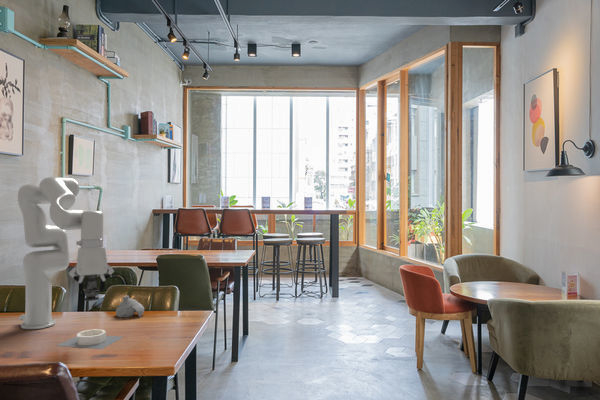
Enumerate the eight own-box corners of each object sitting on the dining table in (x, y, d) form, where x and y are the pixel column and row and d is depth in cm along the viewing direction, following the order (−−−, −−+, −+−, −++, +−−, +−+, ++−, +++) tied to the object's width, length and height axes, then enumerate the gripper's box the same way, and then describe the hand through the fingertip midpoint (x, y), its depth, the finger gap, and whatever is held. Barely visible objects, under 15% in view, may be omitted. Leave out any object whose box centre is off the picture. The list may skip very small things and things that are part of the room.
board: (56, 348, 159) (56, 345, 159) (82, 336, 172) (82, 333, 172) (101, 352, 156) (101, 349, 156) (124, 340, 169) (124, 336, 169)
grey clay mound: (119, 325, 197) (112, 303, 196) (118, 319, 208) (111, 298, 207) (146, 315, 202) (139, 293, 201) (143, 309, 213) (137, 288, 212)
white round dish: (71, 344, 160) (71, 336, 160) (88, 336, 169) (88, 328, 169) (94, 346, 159) (94, 337, 159) (110, 338, 168) (110, 330, 168)
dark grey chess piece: (86, 297, 166) (86, 265, 166) (102, 297, 167) (103, 265, 167) (80, 301, 161) (80, 268, 160) (96, 300, 161) (97, 268, 161)
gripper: (66, 246, 156) (65, 296, 156) (118, 243, 165) (117, 292, 165) (65, 244, 163) (65, 292, 163) (115, 242, 171) (115, 288, 171)
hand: (91, 292), depth 164 cm, fingers closed on dark grey chess piece, 5 cm apart
